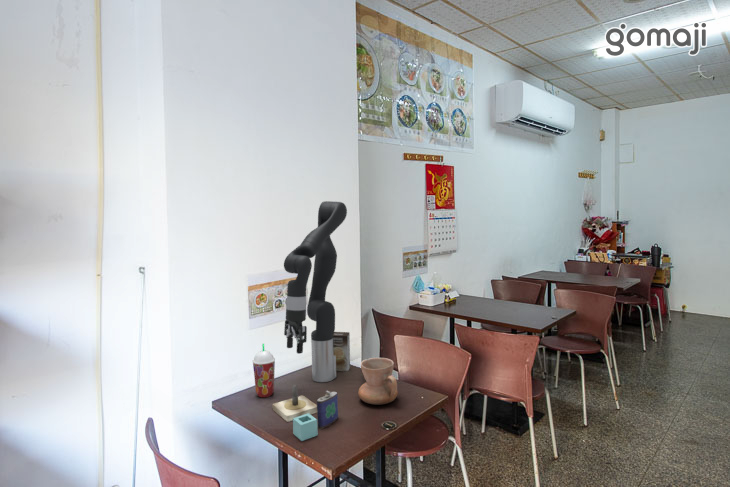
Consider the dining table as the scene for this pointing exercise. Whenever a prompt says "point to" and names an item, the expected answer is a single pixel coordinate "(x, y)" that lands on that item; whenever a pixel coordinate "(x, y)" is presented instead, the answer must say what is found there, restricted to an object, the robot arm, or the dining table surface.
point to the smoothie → (264, 373)
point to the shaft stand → (294, 406)
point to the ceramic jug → (378, 381)
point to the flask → (327, 409)
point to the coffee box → (342, 350)
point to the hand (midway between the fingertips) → (294, 350)
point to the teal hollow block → (305, 427)
